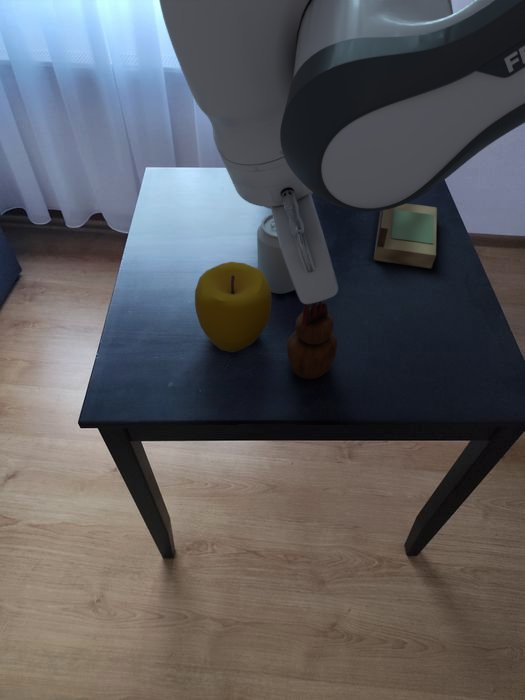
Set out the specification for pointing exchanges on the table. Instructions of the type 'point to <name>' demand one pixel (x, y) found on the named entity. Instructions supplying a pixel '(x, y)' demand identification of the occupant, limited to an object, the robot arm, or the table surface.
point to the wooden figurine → (312, 342)
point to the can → (272, 258)
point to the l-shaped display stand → (407, 235)
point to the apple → (233, 305)
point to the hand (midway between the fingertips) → (310, 254)
